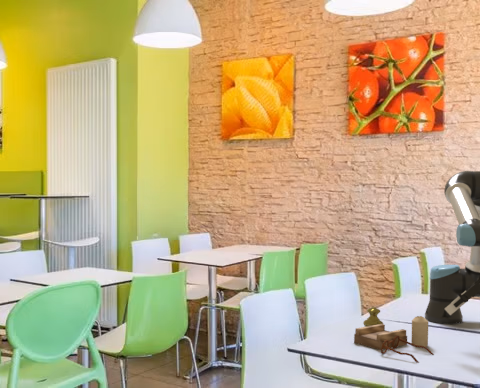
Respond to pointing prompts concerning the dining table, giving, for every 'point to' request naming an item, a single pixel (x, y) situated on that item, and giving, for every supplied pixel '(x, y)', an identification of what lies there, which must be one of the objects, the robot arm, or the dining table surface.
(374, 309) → the brass knob
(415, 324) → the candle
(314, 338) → the dining table surface
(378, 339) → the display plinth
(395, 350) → the glasses
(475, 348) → the dining table surface
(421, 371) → the dining table surface
